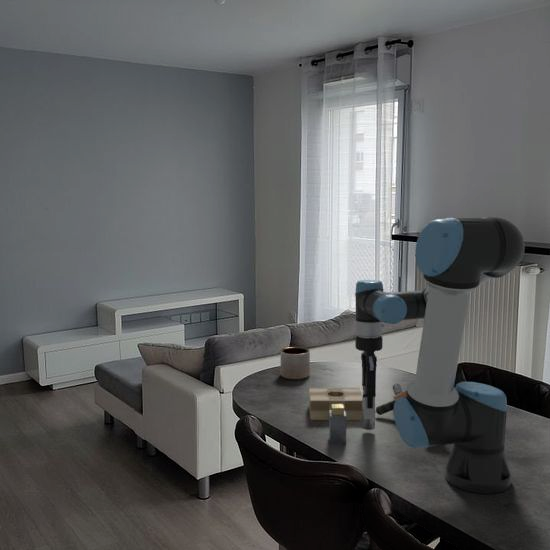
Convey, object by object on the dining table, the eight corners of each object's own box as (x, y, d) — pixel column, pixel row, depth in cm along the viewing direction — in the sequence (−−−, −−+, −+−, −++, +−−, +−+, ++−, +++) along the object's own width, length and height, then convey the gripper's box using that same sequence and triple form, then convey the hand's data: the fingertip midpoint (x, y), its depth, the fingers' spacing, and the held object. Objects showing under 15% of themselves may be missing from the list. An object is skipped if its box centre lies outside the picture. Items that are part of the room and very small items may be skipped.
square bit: (346, 443, 177) (346, 408, 175) (330, 443, 177) (330, 408, 176) (344, 437, 181) (345, 403, 180) (329, 437, 181) (329, 403, 180)
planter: (278, 379, 234) (278, 353, 232) (282, 370, 244) (282, 346, 243) (308, 380, 232) (308, 355, 230) (311, 372, 242) (311, 347, 241)
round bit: (375, 429, 182) (376, 388, 181) (362, 429, 182) (363, 388, 181) (374, 425, 186) (374, 384, 184) (361, 425, 186) (361, 384, 184)
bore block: (363, 419, 194) (363, 400, 193) (310, 419, 195) (310, 400, 194) (359, 405, 206) (359, 387, 205) (309, 405, 206) (309, 387, 206)
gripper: (386, 341, 172) (386, 426, 175) (378, 328, 189) (377, 406, 192) (358, 342, 172) (358, 426, 175) (352, 329, 189) (352, 406, 192)
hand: (368, 415), depth 184 cm, fingers closed on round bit, 3 cm apart
